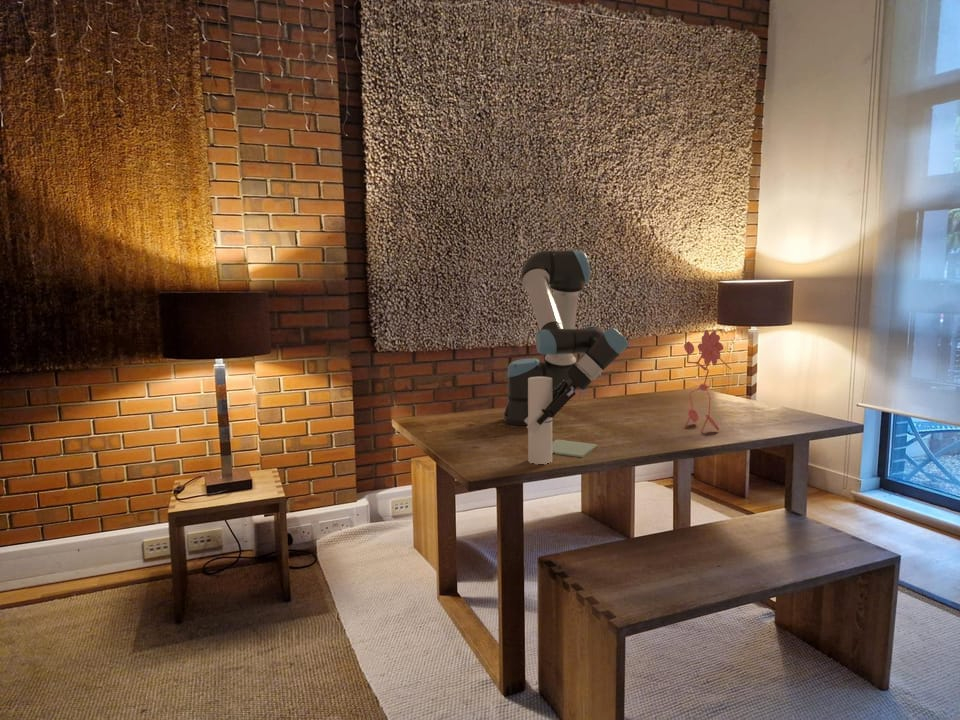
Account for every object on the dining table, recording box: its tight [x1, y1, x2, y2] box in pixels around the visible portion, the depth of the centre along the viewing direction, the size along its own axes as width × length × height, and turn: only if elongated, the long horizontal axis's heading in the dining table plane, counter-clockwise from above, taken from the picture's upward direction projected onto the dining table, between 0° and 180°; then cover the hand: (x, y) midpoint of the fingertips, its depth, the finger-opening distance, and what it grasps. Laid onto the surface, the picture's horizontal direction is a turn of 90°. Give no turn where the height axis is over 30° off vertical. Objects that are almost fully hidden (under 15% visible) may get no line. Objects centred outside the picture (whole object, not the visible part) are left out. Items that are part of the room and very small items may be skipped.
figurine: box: [683, 329, 732, 433], centre depth 226 cm, size 15×26×35 cm, turn 17°
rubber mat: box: [552, 439, 598, 458], centre depth 203 cm, size 14×14×1 cm
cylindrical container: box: [527, 377, 553, 465], centre depth 189 cm, size 7×7×25 cm
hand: (528, 426), depth 189 cm, fingers closed on cylindrical container, 7 cm apart
